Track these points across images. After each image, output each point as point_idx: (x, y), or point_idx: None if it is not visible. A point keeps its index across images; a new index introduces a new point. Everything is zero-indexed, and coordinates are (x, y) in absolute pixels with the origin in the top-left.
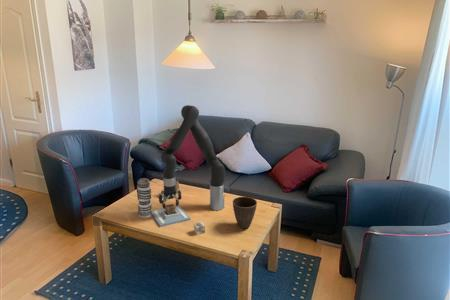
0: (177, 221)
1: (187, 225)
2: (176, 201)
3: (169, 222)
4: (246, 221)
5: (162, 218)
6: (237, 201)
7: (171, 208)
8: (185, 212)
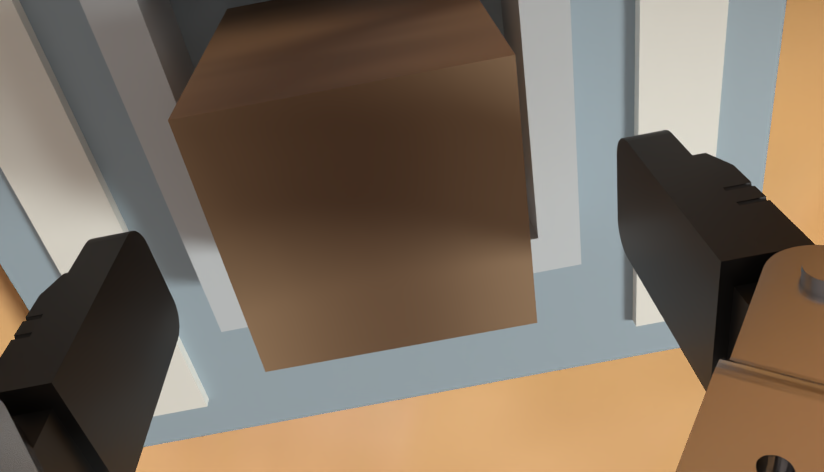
0: (461, 382)
1: (593, 448)
2: (696, 328)
3: (300, 404)
4: None
5: (145, 238)
6: None
7: (394, 334)
8: (773, 71)
